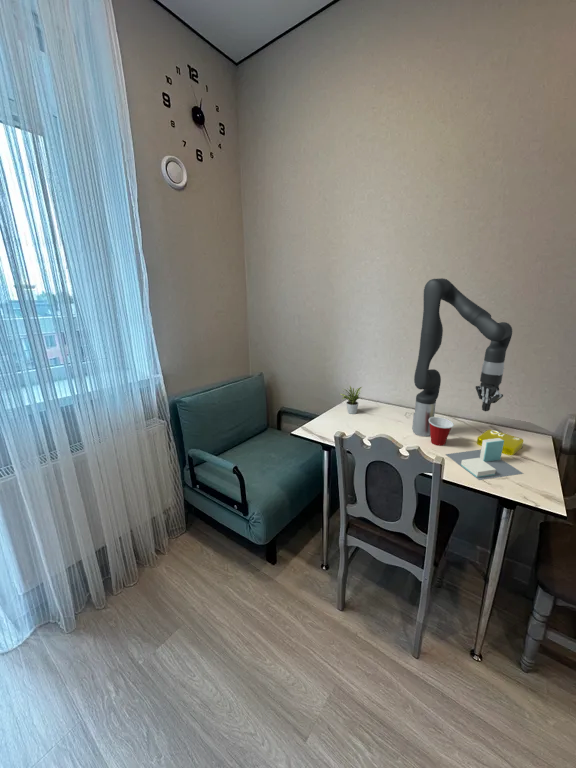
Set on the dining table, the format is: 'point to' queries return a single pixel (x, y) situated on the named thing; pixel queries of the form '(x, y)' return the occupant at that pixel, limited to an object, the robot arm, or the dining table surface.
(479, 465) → the tile
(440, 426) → the plastic cup
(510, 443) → the element tile
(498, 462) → the mat
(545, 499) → the dining table surface
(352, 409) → the house plant
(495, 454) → the tile
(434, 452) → the dining table surface
